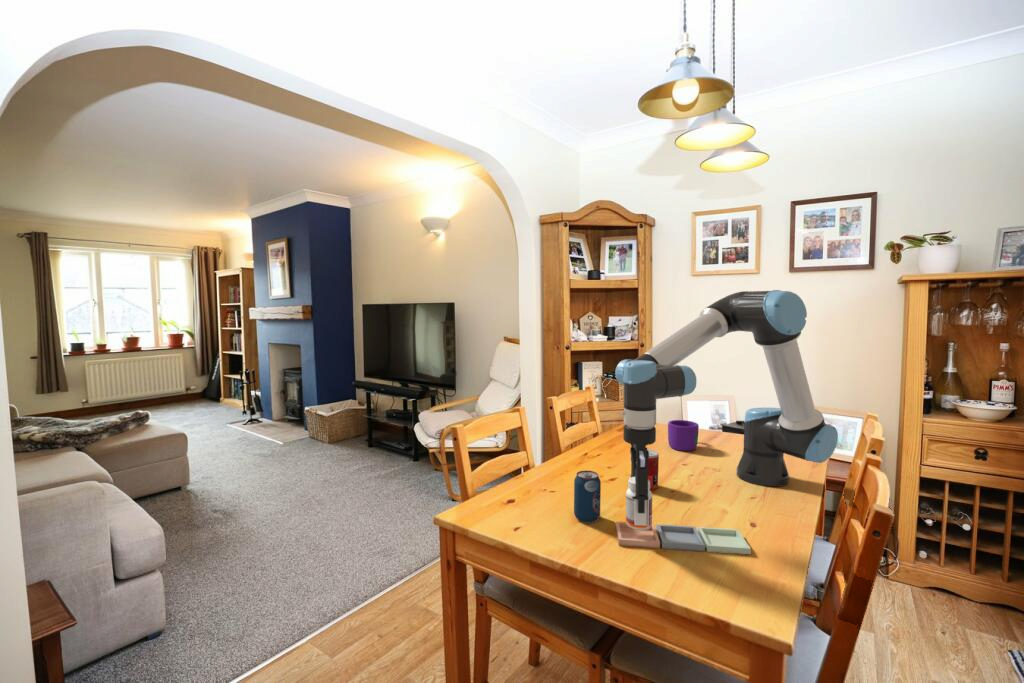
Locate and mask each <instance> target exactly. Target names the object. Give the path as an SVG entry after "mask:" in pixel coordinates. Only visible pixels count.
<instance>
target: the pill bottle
mask: <svg viewBox="0 0 1024 683" xmlns="http://www.w3.org/2000/svg"><path fill="white" fill-rule="evenodd" d="M627 481H628V482H627V483H628V484H627V485H628V486H627V487H628V489H627V490H626V492H625V522H626V524H627V525H628V526H629V527H630V528H632V529H635V530H647V529H649V528H651V526H652V524H653V493H652V491H650V490H649V489H650V481H649V480H648V500H647V526H644V525H635V499H633V498H632V496H636V489H635V477H631V476H630V477H629V478H628V480H627Z"/></svg>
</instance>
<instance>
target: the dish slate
mask: <svg viewBox="0 0 1024 683" xmlns="http://www.w3.org/2000/svg"><path fill="white" fill-rule="evenodd" d="M655 526H656V527H655V528H656V532H657V535H658V538H659V541H660V547H661V549H664V550H675V551H676V550H679V551H691V552H692V551H693V552H705V550H706V548H705V545H704V543H703V541H702V539H701V537H700V535H699V533H698V528H697V527H696V526H689V525H675V524H661V523H656V525H655Z"/></svg>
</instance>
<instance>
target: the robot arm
mask: <svg viewBox="0 0 1024 683" xmlns="http://www.w3.org/2000/svg"><path fill="white" fill-rule="evenodd" d="M807 312H808V311H807V308H806V304H805V303H804V301H803V299H802V298H801V297H800V295H798V294H797V293H794V292H793V291H790V290H780V289H773V290H759V291H758V290H754V291H750V290H749V291H748V290H745V291H744V290H743V291H737V292H734V293H731V294H729V295H726V296H724V297H722V298H720V299H718V300H717V301H715V302H713V303H711V304H710V305H708V306H706V307H705V308H704V309H702V310H701V311H700V313H699V316H698V317H697V318H694V320H692V321H690V322H688V323H687V324H686V325H685V326H683V327H682V328H680V329H678V330H677V331H675V332H674V333H673V334H671V335H670V336H668V337H666V338H665V339H664V340H662V341H660V342H659V343H657V344H655V346H653V347H652V348H649V350H647V351H646V352H644V353H643V354H641V355H640V356H638V357H637V358H636V357H635V359H633V358H630V359H629V358H628V359H626V358H625V359H622V360H621V361H619V362H618V364H617V365H616V367H615V371H614V372H615V373H614V375H615V378H616V382H618V383H619V384H620V385H622V386H623V411H621V412H620V415H621V416H623V423H624V426H623V441H624V442H626V443H627V444H630V448H629V449H630V450H629V452H630V461H631V465H630V466H631V469H630V470H631V471H630V472H631V473H630V478H631V477H635V489H636V496H632V498H633V499H635V525H644V526H647V500H648V462H649V460H648V458H649V451H647V449H648V447H647V446H648V445H649V446H650V445H652V444H653V445H654V444H655V442H656V440H657V439H656V437H657V436H656V435H657V433H656V432H657V430H656V429H657V428H656V427H655V426H656V425H657V400H659V399H661V400H662V399H667V398H668V399H669V398H676V397H684V396H687V395H690V394H692V393H693V392H695V389H696V387H697V376H696V373H695V371H694V370H693V369H692V368H691V367H690V366H687V365H679V363H680V362H682V361H683V360H685V359H686V358H689V356H690V355H692V354H694V353H695V352H697V351H698V350H699V349H701V348H702V347H704V346H706V345H707V344H708V343H709V342H711V341H712V340H714V339H715V338H723V337H724V336H726V335H727V334H729V333H732V332H733V333H734V332H746V333H747V332H749V333H752V336H753V339H754V342H755V344H756V345H758V346H761V347H762V350H763V353H764V355H765V359H766V362H767V367H768V369H769V373H770V376H771V381H772V384H773V387H774V390H775V394H776V397H777V400H778V404H779V407H753V408H749V409H747V410H746V411H745V414H744V421H743V450H742V454H741V457H740V459H739V462H738V463H737V464H738V465H737V467H736V476H737V478H740V479H741V480H742V481H745V482H747V483H751V484H755V485H760V486H764V487H782V486H785V485H787V484H789V482H790V480H789V479H790V475H789V471H788V467H787V465H786V460H785V458H784V455H785V454H786V455H788V456H791V457H795V458H798V459H801V460H803V461H807V462H812V463H816V464H817V463H818V464H821V463H824V462H827V461H828V460H829V459H830V458H831V457H832V455H833V454H834V452H835V451H836V450H835V449H836V448H837V446H838V440H839V433H838V430H837V428H836V427H835V426H834V425H831V424H829V423H828V424H827V423H826V422H825V418H824V415H823V413H822V412H821V411H820V410H818V409H816V408H815V404H814V400H813V397H812V393H811V389H810V385H809V380H808V378H807V373H806V371H805V367H804V363H803V358H802V355H801V351H800V347H799V344H798V343H799V342H798V339H799V338H800V336H801V335H802V331H803V330H804V328H805V326H806V324H807V320H806V318H808V313H807Z"/></svg>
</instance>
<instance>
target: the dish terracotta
mask: <svg viewBox="0 0 1024 683" xmlns="http://www.w3.org/2000/svg"><path fill="white" fill-rule="evenodd" d="M655 526H656V525H655V524H654V523H652V526H651V528H649V529H647V530H635V529H632V528H630V527H629V526H628V525H627V524H626V521H615V530H616V536H617V542H618V543H617V544H618V546H619V547H621V546H622V547H633V548H634V547H636V548H647V549H648V548H649V549H660V548H661V543H660V540H659V536H658V533H657V530H656V527H655Z"/></svg>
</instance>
